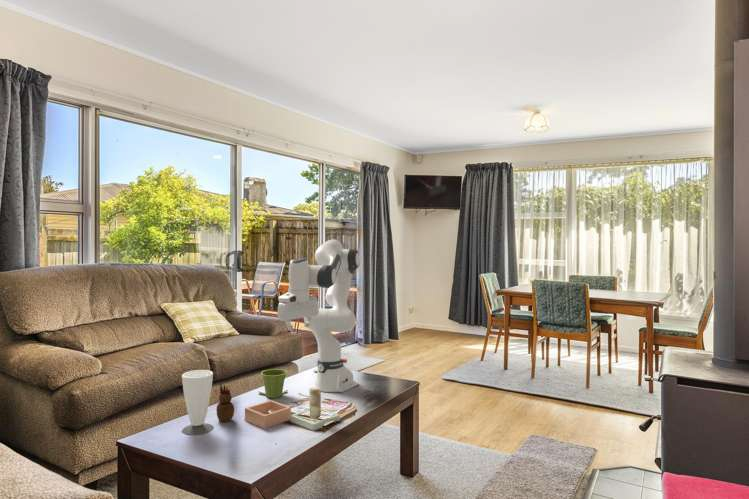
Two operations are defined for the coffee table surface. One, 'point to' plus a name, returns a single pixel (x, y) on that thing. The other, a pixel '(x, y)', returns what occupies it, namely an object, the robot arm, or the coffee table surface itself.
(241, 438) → the coffee table surface
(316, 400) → the beech peg
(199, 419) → the cup
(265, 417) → the frame
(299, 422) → the sage tray
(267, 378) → the plant pot
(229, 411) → the wooden figurine
